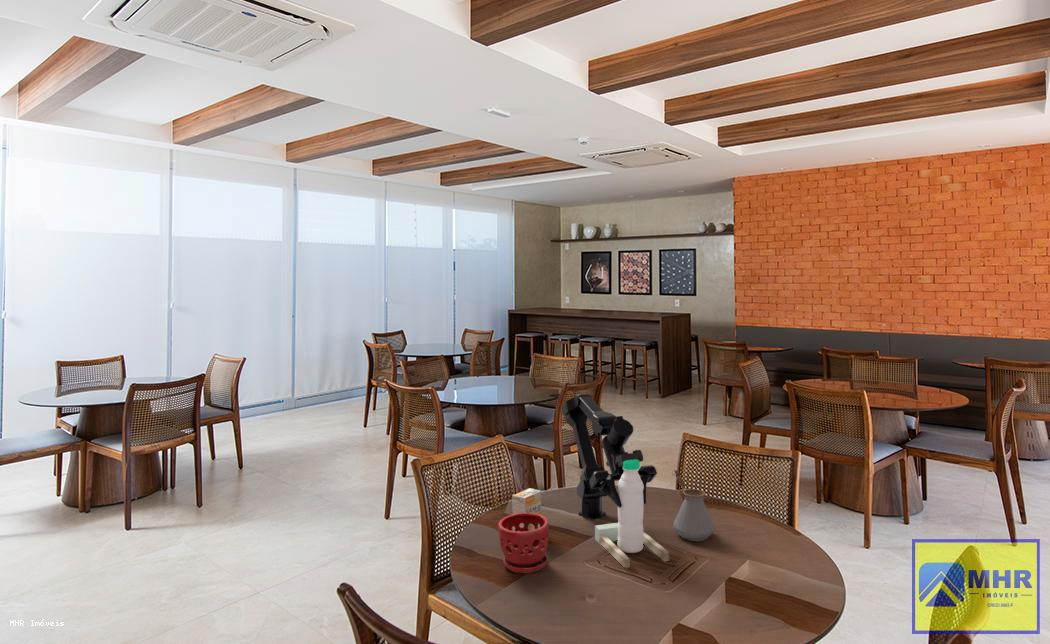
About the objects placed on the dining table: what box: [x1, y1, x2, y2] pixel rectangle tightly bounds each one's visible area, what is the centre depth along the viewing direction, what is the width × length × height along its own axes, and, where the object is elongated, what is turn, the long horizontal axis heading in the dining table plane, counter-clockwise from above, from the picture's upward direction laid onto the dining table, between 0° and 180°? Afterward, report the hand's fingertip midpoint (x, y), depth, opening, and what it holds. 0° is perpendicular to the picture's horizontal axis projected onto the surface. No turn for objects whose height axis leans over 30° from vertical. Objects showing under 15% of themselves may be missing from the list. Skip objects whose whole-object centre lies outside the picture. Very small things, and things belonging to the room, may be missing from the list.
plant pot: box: [498, 513, 550, 574], centre depth 156 cm, size 13×13×12 cm
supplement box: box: [511, 487, 542, 532], centre depth 175 cm, size 8×5×13 cm, turn 143°
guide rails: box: [598, 530, 670, 568], centre depth 164 cm, size 16×13×2 cm
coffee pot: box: [671, 469, 715, 542], centre depth 179 cm, size 21×12×15 cm, turn 6°
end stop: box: [594, 522, 618, 544], centre depth 173 cm, size 3×13×4 cm, turn 107°
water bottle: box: [616, 459, 645, 554], centre depth 164 cm, size 7×7×25 cm
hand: (632, 505), depth 163 cm, fingers closed on water bottle, 7 cm apart
